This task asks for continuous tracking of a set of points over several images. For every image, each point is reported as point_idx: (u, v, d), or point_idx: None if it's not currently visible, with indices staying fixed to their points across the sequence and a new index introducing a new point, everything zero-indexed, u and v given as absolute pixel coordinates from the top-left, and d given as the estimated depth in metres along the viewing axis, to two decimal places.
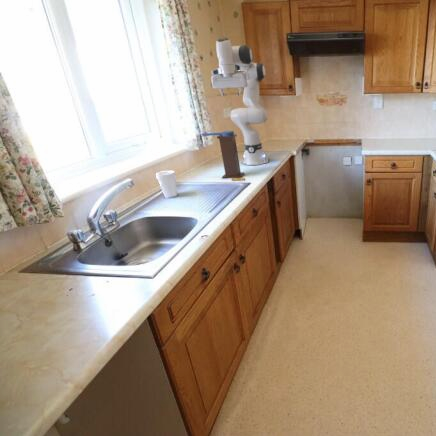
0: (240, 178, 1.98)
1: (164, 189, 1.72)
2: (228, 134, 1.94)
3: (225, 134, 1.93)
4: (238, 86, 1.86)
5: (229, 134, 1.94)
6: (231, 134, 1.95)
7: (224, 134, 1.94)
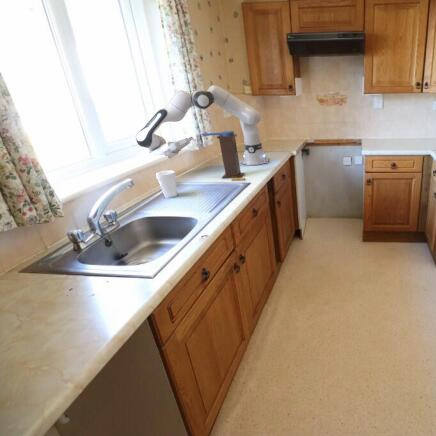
0: (240, 178, 1.98)
1: (164, 189, 1.72)
2: (228, 134, 1.94)
3: (225, 134, 1.93)
4: (180, 147, 1.94)
5: (229, 134, 1.94)
6: (231, 134, 1.95)
7: (224, 134, 1.94)
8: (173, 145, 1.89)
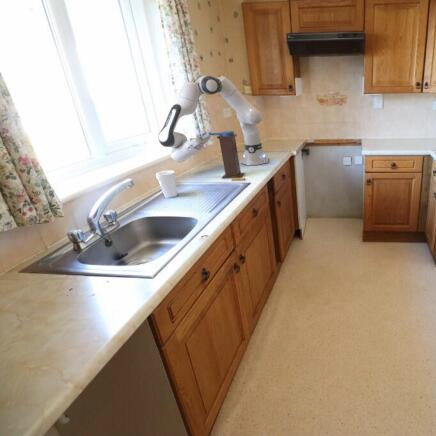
0: (240, 178, 1.98)
1: (164, 189, 1.72)
2: (228, 134, 1.93)
3: (225, 134, 1.93)
4: (201, 142, 1.94)
5: (229, 134, 1.94)
6: (231, 134, 1.95)
7: (224, 134, 1.94)
8: (195, 140, 1.89)
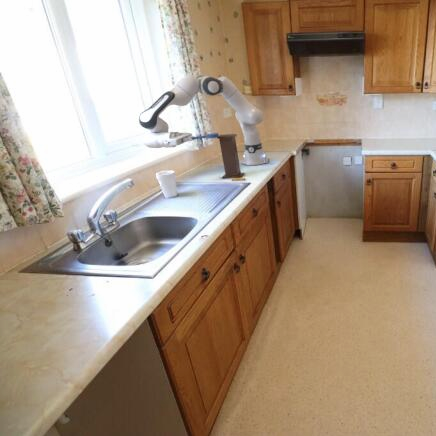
0: (240, 178, 1.98)
1: (164, 189, 1.72)
2: (214, 136, 1.90)
3: (211, 136, 1.89)
4: (181, 143, 1.86)
5: (215, 136, 1.90)
6: (217, 136, 1.91)
7: (210, 136, 1.89)
8: (175, 141, 1.81)
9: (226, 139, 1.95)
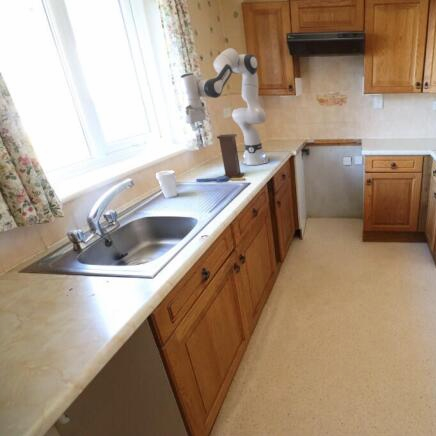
0: (240, 178, 1.98)
1: (164, 189, 1.72)
2: (222, 180, 1.96)
3: (219, 180, 1.96)
4: None
5: (223, 180, 1.96)
6: (225, 180, 1.97)
7: (218, 180, 1.96)
8: (189, 120, 1.78)
9: (226, 139, 1.95)
